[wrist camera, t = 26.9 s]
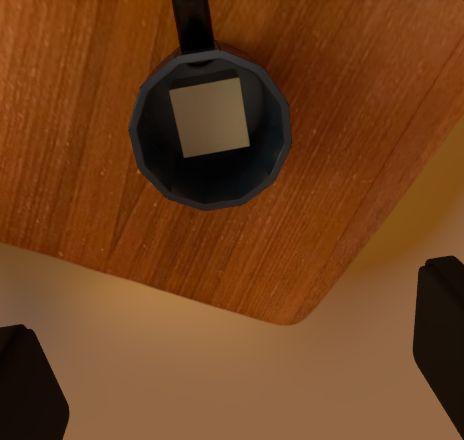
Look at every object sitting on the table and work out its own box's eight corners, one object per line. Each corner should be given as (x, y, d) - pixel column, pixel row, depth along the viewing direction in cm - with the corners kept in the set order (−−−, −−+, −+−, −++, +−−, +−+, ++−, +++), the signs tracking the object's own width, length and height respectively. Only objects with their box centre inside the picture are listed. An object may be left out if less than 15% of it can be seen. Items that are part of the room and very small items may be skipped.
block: (185, 140, 36) (184, 158, 31) (172, 79, 34) (168, 90, 29) (243, 129, 36) (249, 146, 31) (234, 68, 33) (239, 77, 29)
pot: (151, 220, 29) (66, -109, 20) (162, 170, 37) (107, -72, 29) (296, 196, 29) (269, -141, 20) (272, 152, 37) (248, -94, 29)
